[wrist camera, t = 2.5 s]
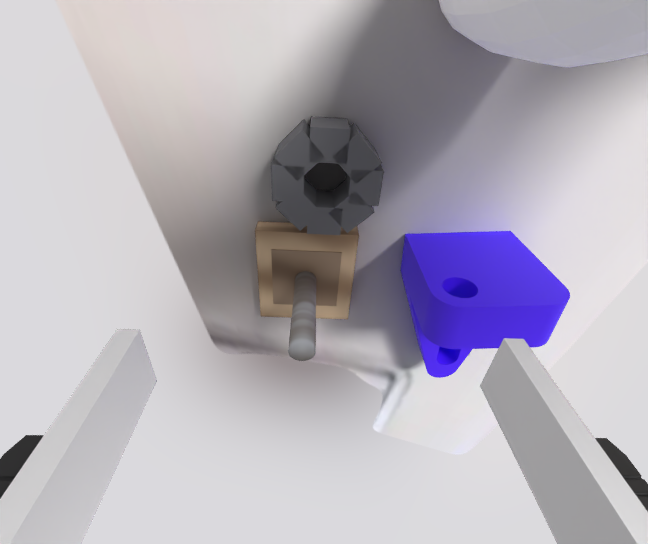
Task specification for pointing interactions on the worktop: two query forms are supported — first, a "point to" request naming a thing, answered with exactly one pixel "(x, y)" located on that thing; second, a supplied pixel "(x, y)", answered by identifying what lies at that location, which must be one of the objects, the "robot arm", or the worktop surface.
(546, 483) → the robot arm
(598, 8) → the bottle
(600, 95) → the worktop surface
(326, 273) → the peg base board
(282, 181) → the dark grey gear
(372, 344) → the worktop surface
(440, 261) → the bracket
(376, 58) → the worktop surface
